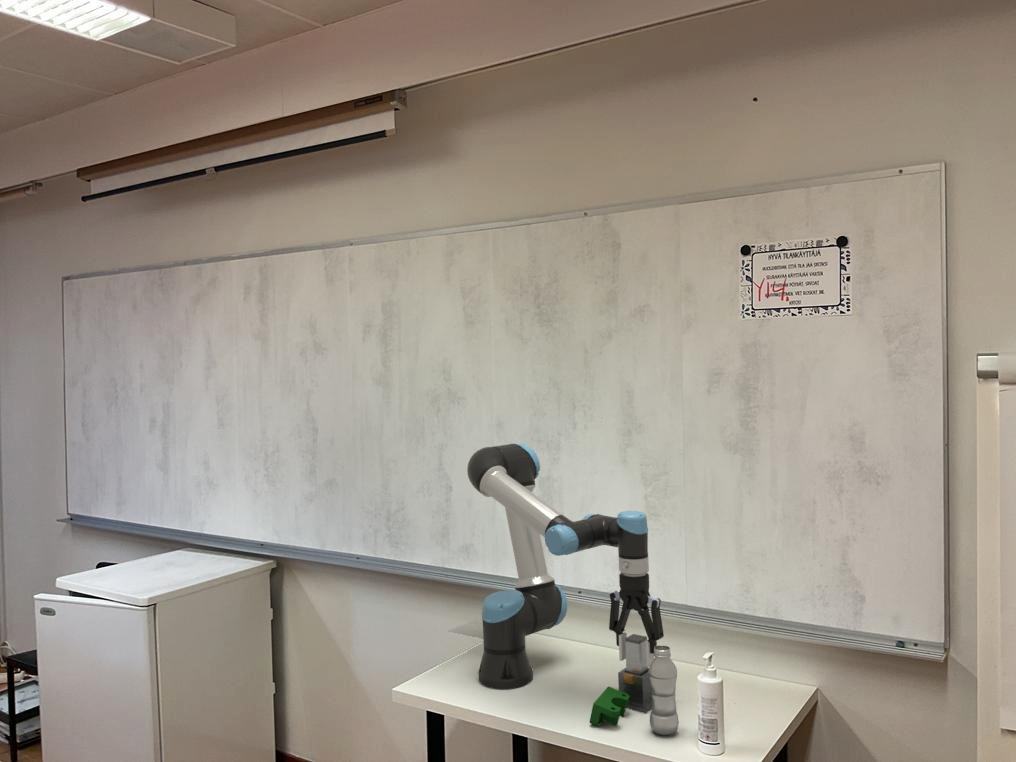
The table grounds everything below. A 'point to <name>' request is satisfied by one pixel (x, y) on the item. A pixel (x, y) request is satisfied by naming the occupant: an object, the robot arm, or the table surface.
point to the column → (636, 654)
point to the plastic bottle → (663, 692)
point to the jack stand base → (636, 690)
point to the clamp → (609, 707)
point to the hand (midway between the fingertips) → (636, 661)
